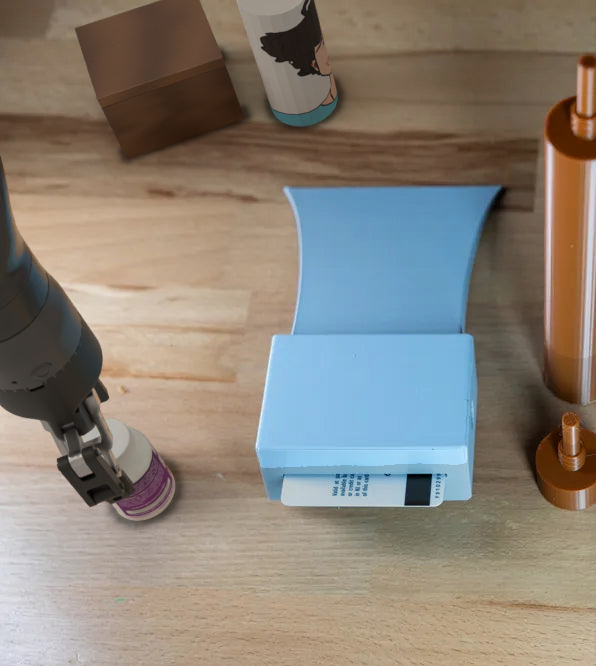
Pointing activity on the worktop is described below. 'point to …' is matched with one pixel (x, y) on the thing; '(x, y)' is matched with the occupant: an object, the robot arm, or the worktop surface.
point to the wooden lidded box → (158, 75)
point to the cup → (291, 58)
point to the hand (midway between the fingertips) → (108, 446)
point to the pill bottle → (139, 472)
